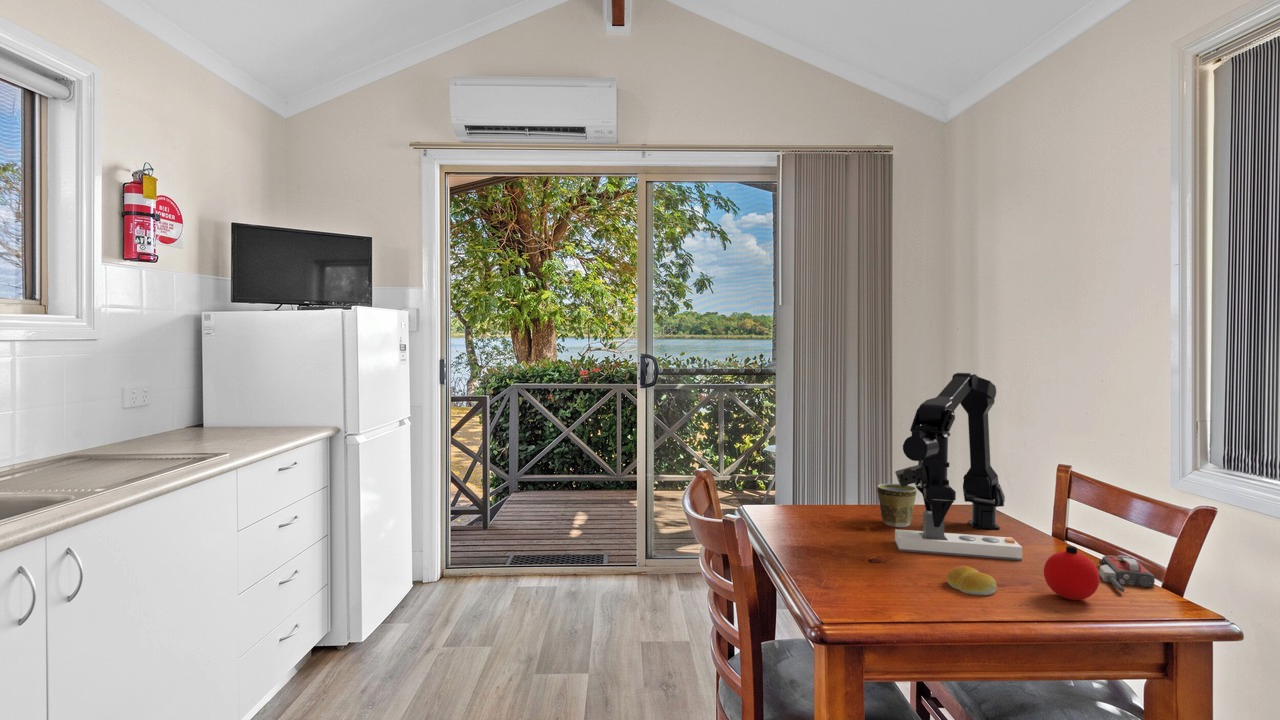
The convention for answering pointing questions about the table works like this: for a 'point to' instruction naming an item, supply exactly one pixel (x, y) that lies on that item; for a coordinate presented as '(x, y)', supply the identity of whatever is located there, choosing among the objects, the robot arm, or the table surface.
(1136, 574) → the walkie-talkie
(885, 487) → the ceramic cup
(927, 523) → the grey rectangular block
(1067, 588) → the ornament
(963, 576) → the bread roll
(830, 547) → the table surface
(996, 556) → the power strip
